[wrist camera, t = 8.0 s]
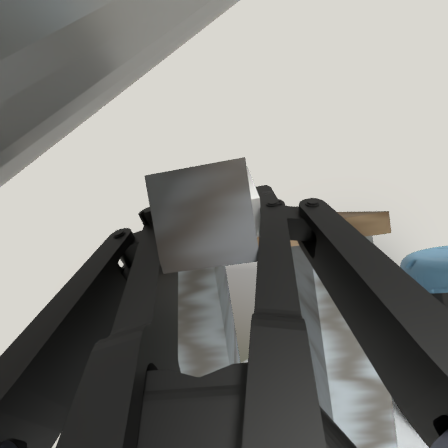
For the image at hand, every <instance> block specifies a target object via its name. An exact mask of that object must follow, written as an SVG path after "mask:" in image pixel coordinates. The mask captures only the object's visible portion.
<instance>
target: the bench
mask: <svg viewBox="0 0 448 448" xmlns="http://www.w3.org/2000/svg"><path fill="white" fill-rule="evenodd" d="M337 213H338V214H339V215H341V216H342V217H343V218H344V219H345V220H346V221H348V222H349V223H350V224H351V225H352V226H353V227H354V228H356V229H357V230H358V231H359V232H360V233H361V234H363V235H364V236H365V237H366V238H367V239H368V240H369V241H371V242H372V243H373V238H372V235H379V234H386V233H391V228H390V218H389V211H387V212H386V211H384V212H337ZM257 242H258V247H259V237H257ZM290 242H291V249H292V256H293V262H294V269H295V275H296V282H297V289H298V295H299V302H300V308H301V314H302V318H304V320H305V323H306V328H307V333H308V339H309V345H310V351H311V357H312V363H313V369H314V376H315V382H316V388H317V394H318V400H319V405H320V407H321V408H322V409H323V410H324V411H325V412H326V413H327V414H328V416H329V417H330V418H331V419H332V420H333V421H334V422H335V423H336V424H337V426H338V427H339V428H340V429H341V430H342V431H343V432H344V433H345V434H346V436H347V437H348V438H349V439H350V440H351V441H352V442H353V443H354V444H355V446H356V447H357V448H398V445H397V436H396V428H395V420H394V412H393V403H392V396H391V395H390V393H389V392H388V390H387V389H386V387H385V386H384V384H383V382H382V381H381V379H380V377H379V376H378V374H377V372H376V371H375V369H374V367H373V366H372V364H371V363H370V361H369V359H368V358H367V356H366V354H365V353H364V351H363V349H362V348H361V346H360V344H359V343H358V341H357V339H356V338H355V336H354V335H353V333H352V331H351V330H350V328H349V326H348V325H347V323H346V321H345V320H344V318H343V316H342V315H341V313H340V312H339V310H338V308H337V307H336V305H335V303H334V302H333V300H332V298H331V297H330V295H329V293H328V292H327V290H326V289H325V287H324V285H323V284H322V282H321V280H320V279H319V277H318V275H317V274H316V272H315V270H314V269H313V267H312V266H311V264H310V262H309V261H308V259H307V257H306V256H305V254H304V252H303V251H302V249H301V247H300V246H299V244H298V241H294V240H290ZM178 362H179V367H180V371H181V373H183V374H187V375H191V376H194V377H202V376H204V375H207V374H209V373H212V372H214V371H216V370H219V369H221V368H224V367H226V366H229V365H231V364H237V363H240V357H239V350H238V344H237V338H236V332H235V325H234V319H233V312H232V306H231V300H230V293H229V288H228V281H227V274H226V269H225V266H219V267H211V268H204V269H196V270H189V271H181V272H178Z"/></svg>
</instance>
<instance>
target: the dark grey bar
mask: <svg viewBox="0 0 448 448" xmlns="http://www.w3.org/2000/svg"><path fill="white" fill-rule="evenodd" d="M145 180H146V187H147V192H148V198H149V204H150V210H151V215H152V221H153V227H154V233H155V238H156V244H157V250H158V256H159V261H160V264H161V268H162V271H163V274H166V273H173V272H181V271H189V270H196V269H204V268H211V267H219V266H227V265H234V264H241V263H249V262H257V261H258V242H257V235H256V228H255V221H254V215H253V208H252V201H251V195H250V188H249V181H248V174H247V168H246V161H245V157H244V158H239V159H233V160H228V161H222V162H217V163H212V164H206V165H201V166H195V167H189V168H184V169H179V170H173V171H168V172H162V173H157V174H151V175H146V176H145Z"/></svg>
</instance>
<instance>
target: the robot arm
mask: <svg viewBox="0 0 448 448" xmlns="http://www.w3.org/2000/svg"><path fill="white" fill-rule="evenodd" d="M238 1H239V0H0V187H1V186H2V185H3V184H5V183H6V182H7V181H9V180H10V179H11V178H12V177H14V176H15V175H16V174H17V173H19V172H20V171H21V170H23V169H24V168H25V167H26V166H28V165H29V164H30V163H32V162H33V161H34V160H36V159H37V158H38V157H39V156H41V155H42V154H43V153H44V152H46V151H47V150H48V149H50V148H51V147H52V146H53V145H55V144H56V143H57V142H59V141H60V140H61V139H62V138H64V137H65V136H66V135H68V134H69V133H70V132H71V131H73V130H74V129H75V128H76V127H78V126H79V125H80V124H82V123H83V122H84V121H86V120H87V119H88V118H89V117H91V116H92V115H93V114H94V113H96V112H97V111H98V110H99V109H101V108H102V107H103V106H105V105H106V104H107V103H109V102H110V101H111V100H112V99H114V98H115V97H116V96H118V95H119V94H120V93H121V92H123V91H124V90H125V89H126V88H128V87H129V86H130V85H131V84H133V83H134V82H136V81H137V80H138V79H139V78H140V77H142V76H143V75H145V74H146V73H147V72H148V71H150V70H151V69H152V68H153V67H155V66H156V65H157V64H159V63H160V62H161V61H162V60H164V59H165V58H166V57H167V56H169V55H170V54H171V53H173V52H174V51H175V50H176V49H178V48H179V47H180V46H182V45H183V44H184V43H185V42H187V41H188V40H189V39H191V38H192V37H193V36H194V35H196V34H197V33H198V32H200V31H201V30H202V29H203V28H205V27H206V26H207V25H209V24H210V23H211V22H212V21H214V20H215V19H216V18H217V17H219V16H220V15H221V14H223V13H224V12H225V11H227V10H228V9H229V8H230V7H232V6H233V5H234V4H236V3H237V2H238ZM246 168H247V174H248V181H249V188H250V195H251V201H252V208H253V215H254V221H255V228H256V235H257V237H259V247H258V263H257V279H256V294H255V309H254V314H253V315H252V320H251V332H250V345H249V358H248V363H237V364H231V365H229V366H226V367H224V368H221V369H219V370H216V371H214V372H212V373H209V374H207V375H204V376H202V377H194V376H191V375H187V374H183V373H181V371H180V367H179V362H178V272H173V273H166V274H163V271H162V268H161V264H160V261H159V256H158V250H157V244H156V238H155V233H154V227H153V221H152V215H151V210H150V207H148V208H146V209H144V210H142V211H141V212H140V213H139V216H140V218H141V220H142V222H143V225H144V227H143V230H142V231H139V232H136V233H132V232H131V229H128V228H124V229H119V230H117V231H115V232H114V233H112V234H111V235H110V236H109V237H108V238H107V239H106V240H105V241H104V243H103V244H102V245H101V246H100V247H99V248H98V249H97V250H96V251H95V252H94V254H93V255H92V256H91V257H90V258H89V259H88V260H87V261H86V262H85V263H84V265H83V266H82V267H81V268H80V269H79V270H78V271H77V272H76V273H75V274H74V276H73V277H72V278H71V279H70V280H69V281H68V282H67V283H66V284H65V285H64V287H63V288H62V289H61V290H60V291H59V292H58V293H57V294H56V295H55V297H54V298H53V299H52V300H51V301H50V302H49V303H48V304H47V305H46V306H45V308H44V309H43V310H42V311H41V312H40V313H39V314H38V315H37V317H35V319H34V320H33V321H32V322H31V323H30V324H29V325H28V326H27V327H26V329H25V330H24V331H23V332H22V333H21V334H20V335H19V336H18V337H17V339H15V341H14V342H13V343H12V344H11V345H10V346H9V347H8V348H7V349H6V351H5V352H4V353H3V354H2V355H1V356H0V448H52V446H53V444H54V443H55V441H56V440H57V438H58V436H59V435H60V433H61V435H60V438H59V440H58V443H57V446H56V448H357V447H356V446H355V444H354V443H353V442H352V441H351V440H350V439H349V438H348V437H347V436H346V434H345V433H344V432H343V431H342V430H341V429H340V428H339V427H338V426H337V424H336V423H335V422H334V421H333V420H332V419H331V418H330V417H329V416H328V414H327V413H326V412H325V411H324V410H323V409H322V408H321V407H320V405H319V400H318V394H317V388H316V382H315V376H314V369H313V363H312V357H311V351H310V345H309V339H308V333H307V328H306V323H305V320H304V318H302V314H301V308H300V302H299V295H298V289H297V282H296V275H295V269H294V262H293V256H292V249H291V242H290V240H294V241H298V244H299V246H300V247H301V249H302V251H303V252H304V254H305V256H306V257H307V259H308V261H309V262H310V264H311V266H312V267H313V269H314V270H315V272H316V274H317V275H318V277H319V279H320V280H321V282H322V284H323V285H324V287H325V289H326V290H327V292H328V293H329V295H330V297H331V298H332V300H333V302H334V303H335V305H336V307H337V308H338V310H339V312H340V313H341V315H342V316H343V318H344V320H345V321H346V323H347V325H348V326H349V328H350V330H351V331H352V333H353V335H354V336H355V338H356V339H357V341H358V343H359V344H360V346H361V348H362V349H363V351H364V353H365V354H366V356H367V358H368V359H369V361H370V363H371V364H372V366H373V367H374V369H375V371H376V372H377V374H378V376H379V377H380V379H381V381H382V382H383V384H384V386H385V387H386V389H387V390H388V392H389V393H390V395H391V396H392V398H393V399H394V401H395V403H396V404H397V406H398V407H399V409H400V410H401V412H402V413H403V414H404V416H405V417H406V418H407V420H408V421H409V422H410V424H411V425H412V426H413V428H414V429H415V430H416V432H417V433H418V434H419V436H420V437H421V438H422V440H423V441H424V442H425V443H426V445H427V446H428V447H429V448H448V246H442V247H435V248H429V249H424V250H420V251H417V252H413V253H411V254H409V255H407V256H406V257H405V258H404V259H403V260H402V262H401V265H400V267H399V266H398V265H397V264H396V263H395V262H394V261H392V260H391V259H390V258H389V257H388V256H387V255H385V254H384V253H383V252H382V251H381V250H380V249H379V248H377V247H376V246H375V245H374V244H373V243H372V242H371V241H369V240H368V239H367V238H366V237H365V236H364V235H363V234H361V233H360V232H359V231H358V230H357V229H356V228H354V227H353V226H352V225H351V224H350V223H349V222H348V221H346V220H345V219H344V218H343V217H342V216H341V215H339V214H338V213H337V212H336V211H335V210H334V209H332V208H331V207H330V206H329V205H328V204H327V203H325V202H324V201H323V200H320V199H316V198H310V199H305V200H302V201H301V202H300V203H299V207H290V206H285V203H284V202H283V201H282V200H279V199H277V197H276V195H275V194H274V192H273V190H272V188H271V187H269V186H267V185H264V186H258V187H255V185H254V182H253V180H252V177H251V175H250V172H249V170H248V167H247V166H246ZM119 259H121V261H122V262H123V264H124V266H123V267H122V268H121V267H120V266H119V264H118V261H119Z"/></svg>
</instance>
